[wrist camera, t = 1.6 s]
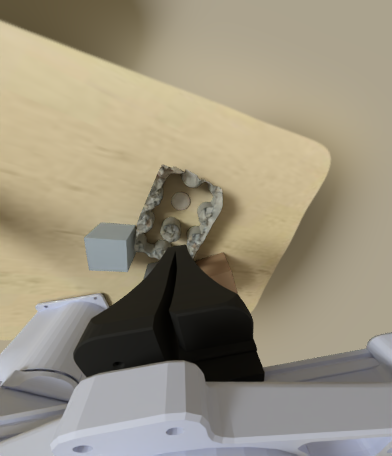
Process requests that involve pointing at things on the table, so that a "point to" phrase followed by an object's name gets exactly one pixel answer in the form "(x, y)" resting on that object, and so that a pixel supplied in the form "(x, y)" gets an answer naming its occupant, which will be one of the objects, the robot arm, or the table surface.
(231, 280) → the walnut block
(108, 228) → the slate-blue block
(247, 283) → the table surface
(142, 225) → the egg carton
